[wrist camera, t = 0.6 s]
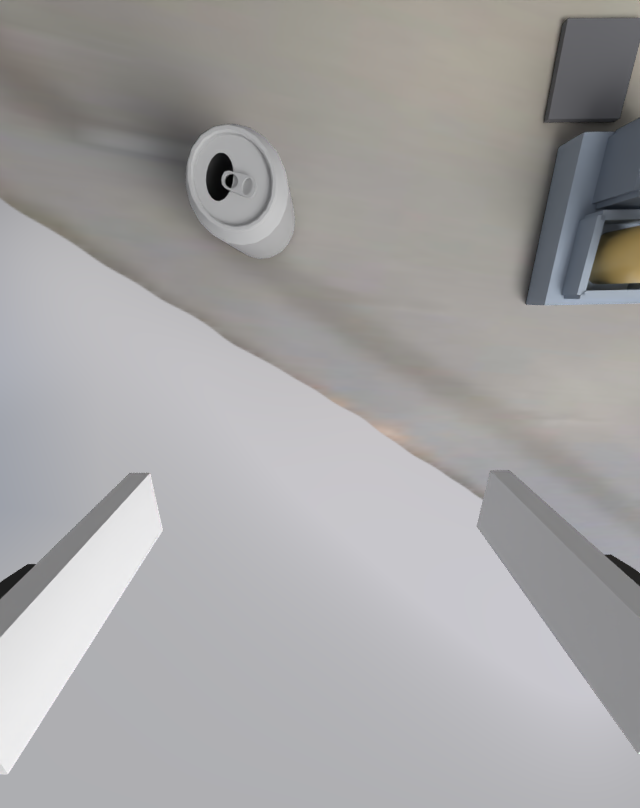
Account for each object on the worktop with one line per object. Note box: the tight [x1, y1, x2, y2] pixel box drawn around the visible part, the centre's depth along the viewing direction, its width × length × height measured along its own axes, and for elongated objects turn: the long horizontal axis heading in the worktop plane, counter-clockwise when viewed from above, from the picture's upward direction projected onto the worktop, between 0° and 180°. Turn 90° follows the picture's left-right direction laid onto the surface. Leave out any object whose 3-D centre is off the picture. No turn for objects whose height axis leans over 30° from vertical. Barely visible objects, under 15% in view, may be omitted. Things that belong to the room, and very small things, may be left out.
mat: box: [544, 18, 640, 122], centre depth 28 cm, size 7×7×1 cm
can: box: [186, 124, 295, 259], centre depth 26 cm, size 8×8×12 cm
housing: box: [526, 118, 640, 305], centre depth 29 cm, size 15×11×7 cm
